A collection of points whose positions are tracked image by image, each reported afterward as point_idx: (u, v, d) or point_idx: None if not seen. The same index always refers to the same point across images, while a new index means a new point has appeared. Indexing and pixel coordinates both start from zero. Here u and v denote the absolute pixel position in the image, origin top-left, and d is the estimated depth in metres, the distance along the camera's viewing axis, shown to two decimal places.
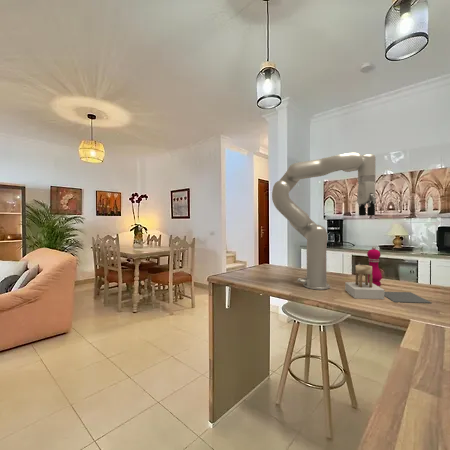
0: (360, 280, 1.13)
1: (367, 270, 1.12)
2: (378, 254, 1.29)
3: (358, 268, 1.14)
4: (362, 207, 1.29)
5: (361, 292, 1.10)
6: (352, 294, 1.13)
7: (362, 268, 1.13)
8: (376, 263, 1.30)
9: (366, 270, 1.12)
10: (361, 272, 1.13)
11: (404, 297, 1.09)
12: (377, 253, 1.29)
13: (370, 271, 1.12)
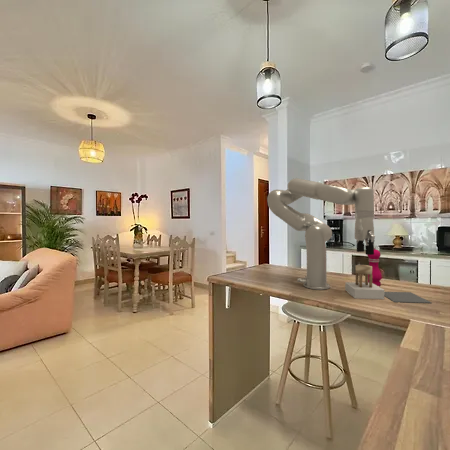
0: (360, 280, 1.13)
1: (367, 270, 1.12)
2: (378, 254, 1.29)
3: (358, 268, 1.14)
4: (360, 243, 1.19)
5: (361, 292, 1.10)
6: (352, 294, 1.13)
7: (362, 268, 1.13)
8: (376, 263, 1.30)
9: (366, 270, 1.12)
10: (361, 272, 1.13)
11: (404, 297, 1.09)
12: (377, 253, 1.29)
13: (370, 271, 1.12)
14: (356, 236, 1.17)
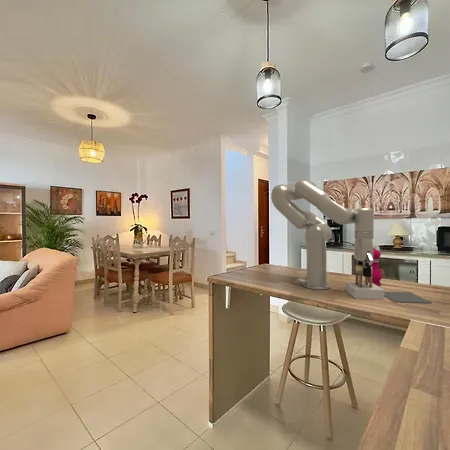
0: (360, 280, 1.13)
1: None
2: (378, 254, 1.29)
3: (358, 268, 1.14)
4: (360, 264, 1.19)
5: (361, 292, 1.10)
6: (352, 294, 1.13)
7: (362, 268, 1.13)
8: (376, 263, 1.30)
9: None
10: (361, 272, 1.13)
11: (404, 297, 1.09)
12: (377, 253, 1.29)
13: None
14: (355, 256, 1.17)
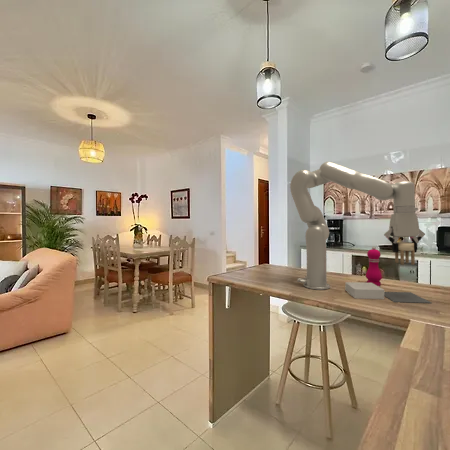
0: (395, 255, 1.13)
1: None
2: (378, 254, 1.29)
3: None
4: (412, 242, 1.09)
5: (361, 292, 1.10)
6: (352, 294, 1.13)
7: None
8: (376, 263, 1.30)
9: None
10: None
11: (404, 297, 1.09)
12: (377, 253, 1.29)
13: (399, 247, 1.08)
14: None
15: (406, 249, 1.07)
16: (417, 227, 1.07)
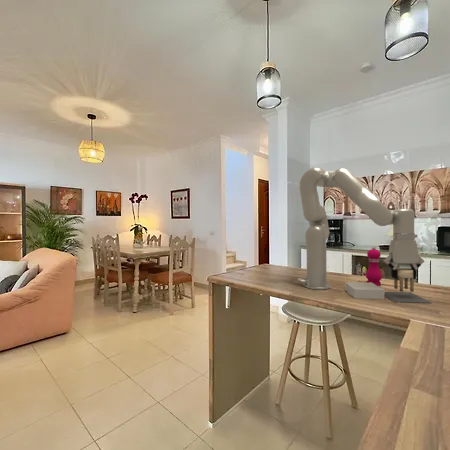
0: None
1: None
2: (378, 254, 1.29)
3: None
4: (412, 269, 1.10)
5: (361, 292, 1.10)
6: (352, 294, 1.13)
7: None
8: (376, 263, 1.30)
9: None
10: None
11: (404, 297, 1.09)
12: (377, 253, 1.29)
13: (399, 274, 1.09)
14: None
15: (405, 276, 1.07)
16: (416, 254, 1.08)
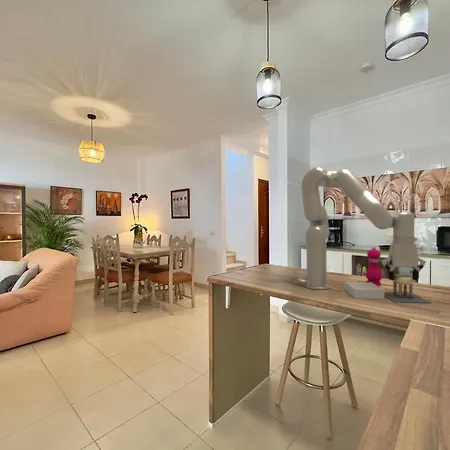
0: (393, 288, 1.13)
1: (395, 279, 1.11)
2: (378, 254, 1.29)
3: None
4: (414, 270, 1.10)
5: (361, 292, 1.10)
6: (352, 294, 1.13)
7: None
8: (376, 263, 1.30)
9: (394, 278, 1.11)
10: None
11: (404, 297, 1.09)
12: (377, 253, 1.29)
13: (398, 281, 1.09)
14: None
15: (404, 283, 1.08)
16: (416, 258, 1.08)
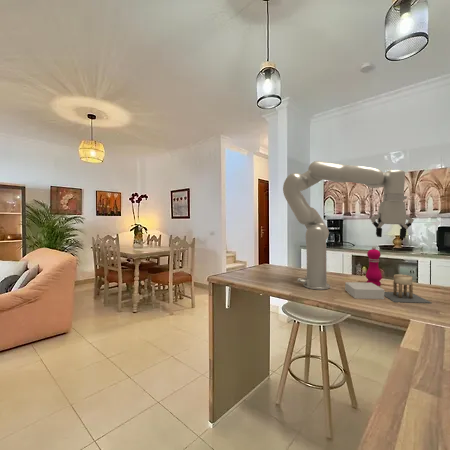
0: (393, 288, 1.13)
1: (395, 279, 1.11)
2: (378, 254, 1.29)
3: None
4: (402, 228, 1.12)
5: (361, 292, 1.10)
6: (352, 294, 1.13)
7: None
8: (376, 263, 1.30)
9: (394, 278, 1.11)
10: None
11: (404, 297, 1.09)
12: (377, 253, 1.29)
13: (398, 281, 1.09)
14: None
15: (404, 283, 1.08)
16: (404, 215, 1.10)
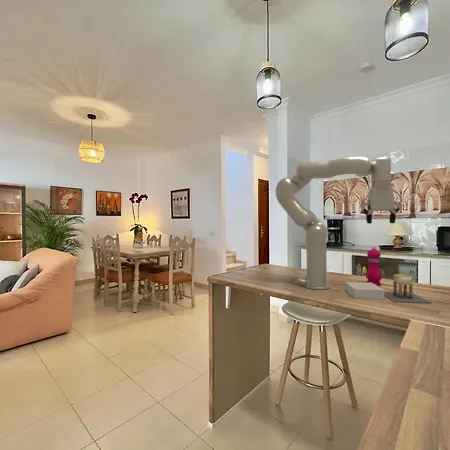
0: (393, 288, 1.13)
1: (395, 279, 1.11)
2: (378, 254, 1.29)
3: None
4: (391, 214, 1.15)
5: (361, 292, 1.10)
6: (352, 294, 1.13)
7: None
8: (376, 263, 1.30)
9: (394, 278, 1.11)
10: None
11: (404, 297, 1.09)
12: (377, 253, 1.29)
13: (398, 281, 1.09)
14: None
15: (404, 283, 1.08)
16: (392, 201, 1.13)
